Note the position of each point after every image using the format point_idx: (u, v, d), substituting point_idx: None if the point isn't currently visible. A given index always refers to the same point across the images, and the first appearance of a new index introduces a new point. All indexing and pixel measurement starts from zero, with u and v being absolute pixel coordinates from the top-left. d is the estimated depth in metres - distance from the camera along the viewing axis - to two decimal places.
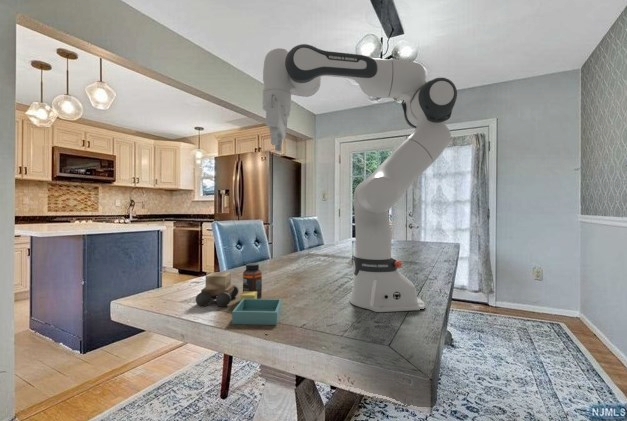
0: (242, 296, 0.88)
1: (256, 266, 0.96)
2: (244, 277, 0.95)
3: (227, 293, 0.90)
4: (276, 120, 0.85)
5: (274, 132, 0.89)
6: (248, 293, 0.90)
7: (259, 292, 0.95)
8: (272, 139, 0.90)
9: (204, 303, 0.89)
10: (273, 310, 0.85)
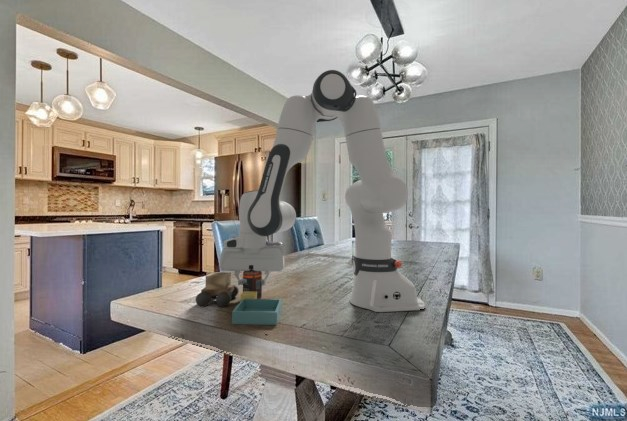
0: (242, 296, 0.88)
1: None
2: (244, 277, 0.95)
3: (227, 293, 0.90)
4: None
5: None
6: (248, 293, 0.90)
7: (259, 292, 0.95)
8: (265, 280, 0.96)
9: (204, 303, 0.89)
10: (273, 310, 0.85)
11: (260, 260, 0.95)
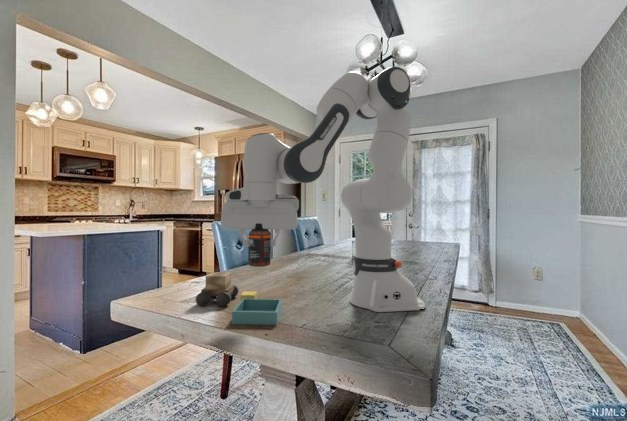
0: (242, 296, 0.88)
1: None
2: (250, 237, 0.79)
3: (227, 293, 0.90)
4: None
5: (279, 234, 0.82)
6: (248, 293, 0.90)
7: (268, 256, 0.80)
8: (276, 241, 0.81)
9: (204, 303, 0.89)
10: (273, 310, 0.85)
11: (269, 215, 0.80)
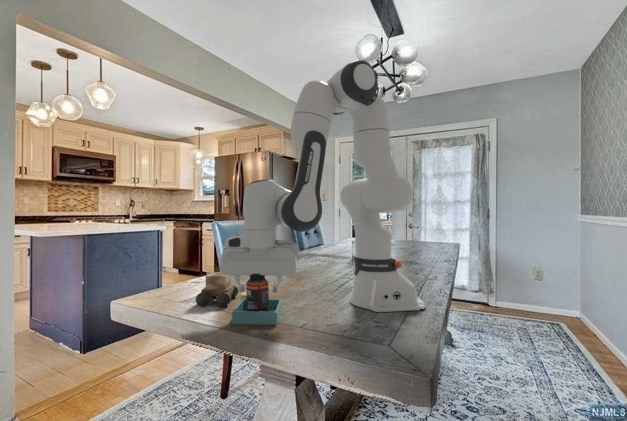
0: (242, 296, 0.88)
1: (262, 275, 0.80)
2: (248, 288, 0.79)
3: (227, 293, 0.90)
4: None
5: None
6: None
7: (266, 306, 0.80)
8: (278, 287, 0.81)
9: (204, 303, 0.89)
10: (273, 310, 0.85)
11: (268, 262, 0.80)
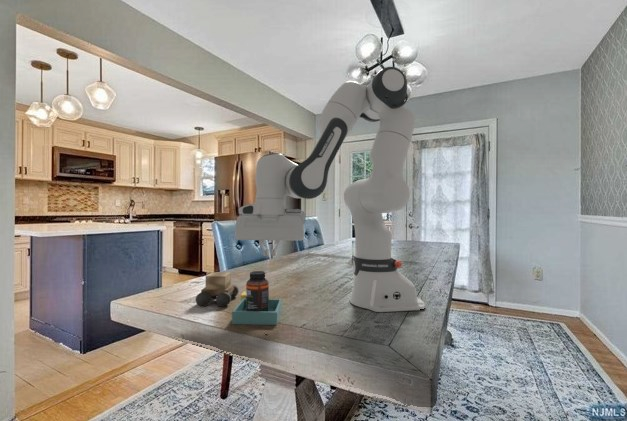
0: (242, 296, 0.88)
1: (262, 275, 0.80)
2: (248, 288, 0.79)
3: (227, 293, 0.90)
4: None
5: None
6: None
7: (266, 306, 0.80)
8: (276, 251, 0.89)
9: (204, 303, 0.89)
10: (273, 310, 0.85)
11: (278, 228, 0.88)
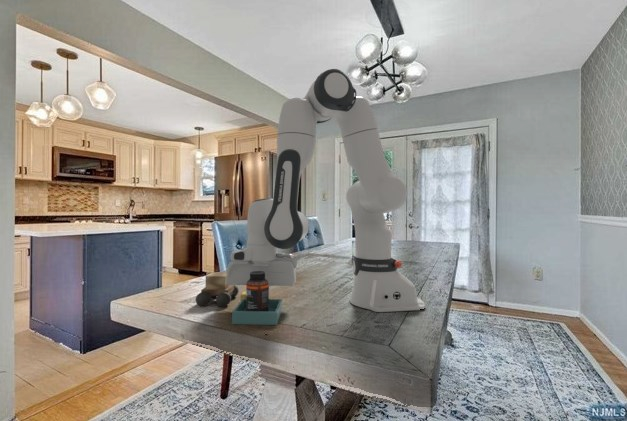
0: (242, 296, 0.88)
1: (262, 275, 0.80)
2: (248, 288, 0.79)
3: (227, 293, 0.90)
4: None
5: None
6: None
7: (266, 306, 0.80)
8: None
9: (204, 303, 0.89)
10: (273, 310, 0.85)
11: (269, 273, 0.88)
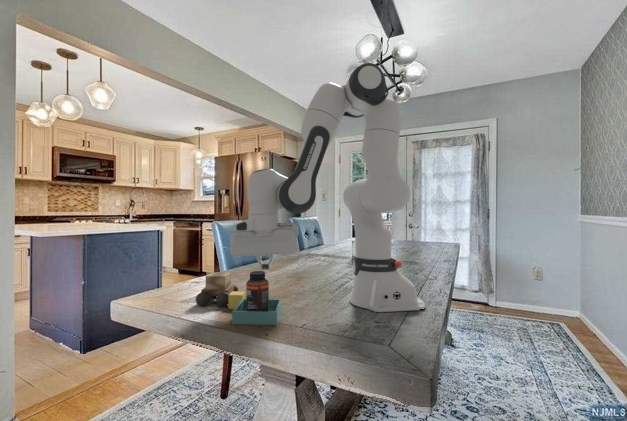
0: (230, 296, 0.88)
1: (262, 275, 0.80)
2: (248, 288, 0.79)
3: (227, 293, 0.90)
4: None
5: None
6: (236, 292, 0.90)
7: (266, 306, 0.80)
8: (270, 264, 0.91)
9: (204, 303, 0.89)
10: (273, 310, 0.85)
11: (272, 242, 0.89)
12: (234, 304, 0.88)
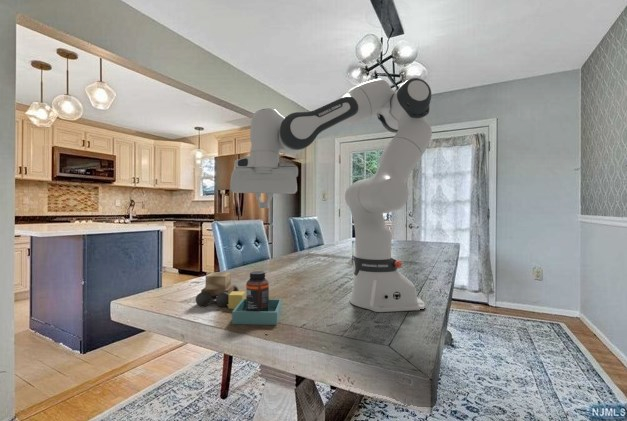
0: (230, 296, 0.88)
1: (262, 275, 0.80)
2: (248, 288, 0.79)
3: (227, 293, 0.90)
4: None
5: (271, 197, 0.94)
6: (236, 292, 0.90)
7: (266, 306, 0.80)
8: (268, 203, 0.93)
9: (204, 303, 0.89)
10: (273, 310, 0.85)
11: (272, 180, 0.92)
12: (234, 304, 0.88)
